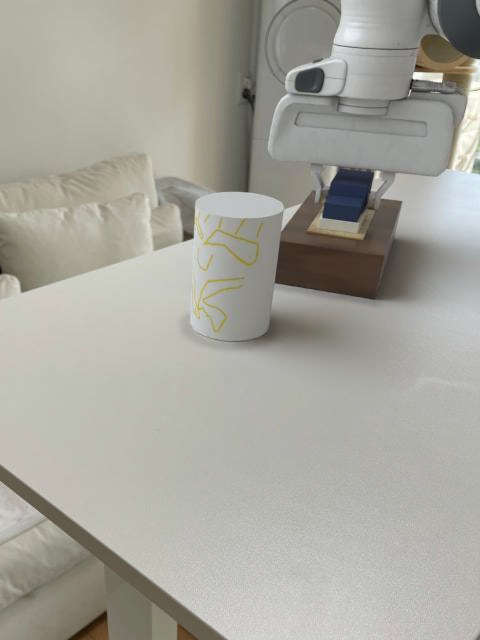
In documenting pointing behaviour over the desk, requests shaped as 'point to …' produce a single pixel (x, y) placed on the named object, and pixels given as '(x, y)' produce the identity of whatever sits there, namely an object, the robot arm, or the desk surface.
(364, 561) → the desk surface
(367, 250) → the brown block
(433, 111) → the robot arm
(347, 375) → the desk surface
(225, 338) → the yellow doodled cylinder
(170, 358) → the desk surface
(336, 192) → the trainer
